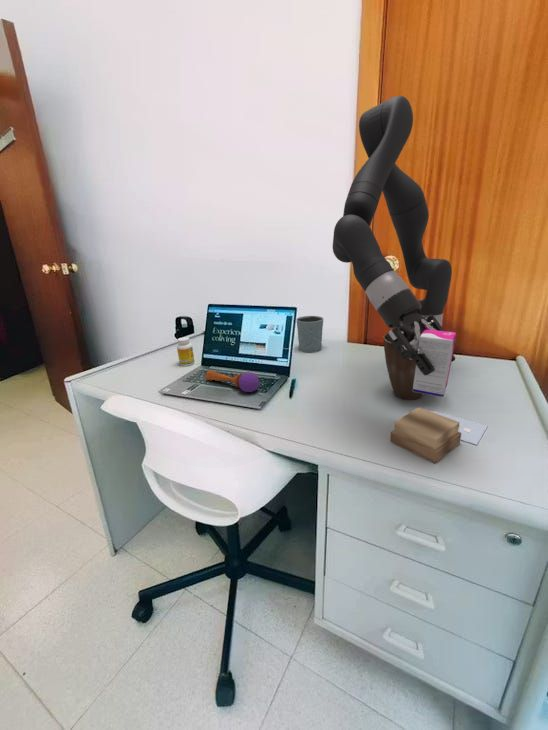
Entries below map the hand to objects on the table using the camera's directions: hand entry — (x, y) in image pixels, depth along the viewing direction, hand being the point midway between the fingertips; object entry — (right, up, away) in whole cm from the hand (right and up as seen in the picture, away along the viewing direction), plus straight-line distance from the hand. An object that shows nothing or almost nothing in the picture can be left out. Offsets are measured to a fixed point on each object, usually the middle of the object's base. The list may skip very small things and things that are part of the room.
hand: (441, 367), depth 66 cm
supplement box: (-1, -4, +3) cm, 5 cm away
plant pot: (+5, -8, +29) cm, 30 cm away
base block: (0, -16, +7) cm, 18 cm away
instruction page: (+9, -14, +12) cm, 20 cm away
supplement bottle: (-64, +1, +60) cm, 88 cm away
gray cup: (-18, +7, +68) cm, 71 cm away
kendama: (-45, -6, +40) cm, 60 cm away
